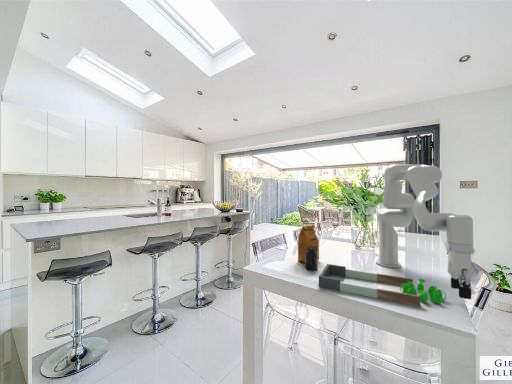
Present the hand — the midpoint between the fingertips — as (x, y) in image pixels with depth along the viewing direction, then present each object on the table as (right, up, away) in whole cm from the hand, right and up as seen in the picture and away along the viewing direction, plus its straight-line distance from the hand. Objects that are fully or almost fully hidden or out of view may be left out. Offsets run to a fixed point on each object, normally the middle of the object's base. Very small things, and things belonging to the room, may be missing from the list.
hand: (460, 293), depth 84 cm
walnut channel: (-18, -4, +10) cm, 21 cm away
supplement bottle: (-47, -5, +39) cm, 61 cm away
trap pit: (-40, -4, +22) cm, 46 cm away
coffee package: (-45, -5, +53) cm, 70 cm away
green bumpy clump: (-10, -5, +6) cm, 13 cm away
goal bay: (-30, -4, +17) cm, 35 cm away
